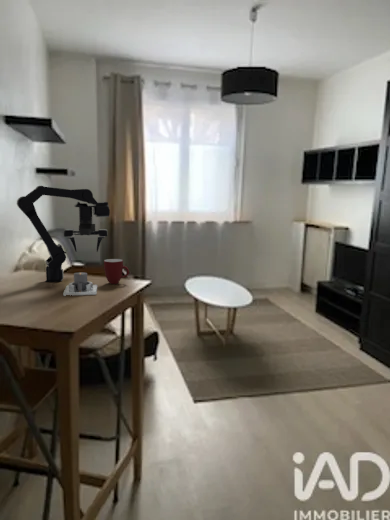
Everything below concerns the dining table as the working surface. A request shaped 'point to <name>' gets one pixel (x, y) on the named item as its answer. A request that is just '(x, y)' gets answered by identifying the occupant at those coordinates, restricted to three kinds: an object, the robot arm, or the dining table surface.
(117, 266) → the mug
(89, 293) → the hub
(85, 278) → the knob
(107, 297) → the dining table surface
